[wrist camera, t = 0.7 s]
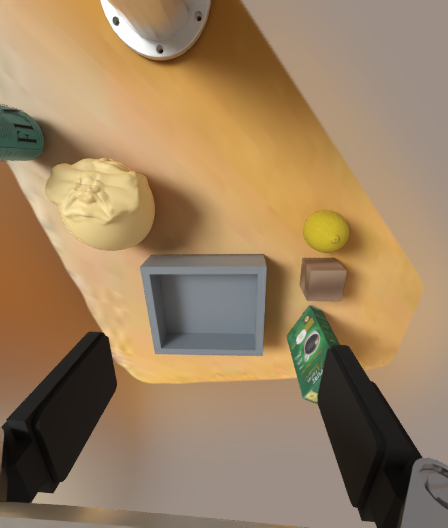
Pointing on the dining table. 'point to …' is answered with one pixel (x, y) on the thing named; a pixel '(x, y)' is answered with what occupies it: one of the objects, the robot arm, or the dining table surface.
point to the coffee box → (310, 350)
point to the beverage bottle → (19, 135)
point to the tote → (206, 303)
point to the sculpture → (102, 202)
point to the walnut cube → (322, 279)
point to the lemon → (326, 231)
